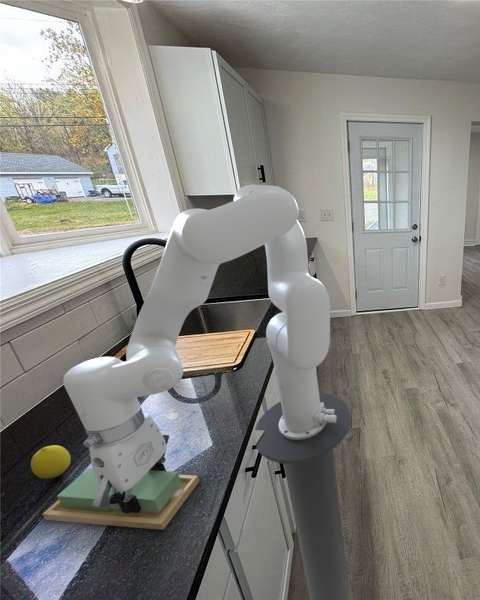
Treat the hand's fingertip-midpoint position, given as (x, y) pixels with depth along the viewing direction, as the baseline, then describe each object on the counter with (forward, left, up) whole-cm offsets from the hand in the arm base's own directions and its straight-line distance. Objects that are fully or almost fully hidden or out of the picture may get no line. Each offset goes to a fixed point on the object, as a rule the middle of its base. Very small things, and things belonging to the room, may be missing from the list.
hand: (147, 493), depth 62 cm
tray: (+5, 0, -2) cm, 6 cm away
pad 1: (+11, 0, -2) cm, 11 cm away
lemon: (+25, -4, -2) cm, 26 cm away
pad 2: (0, 0, -1) cm, 1 cm away
